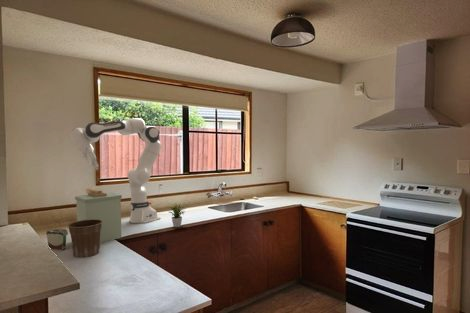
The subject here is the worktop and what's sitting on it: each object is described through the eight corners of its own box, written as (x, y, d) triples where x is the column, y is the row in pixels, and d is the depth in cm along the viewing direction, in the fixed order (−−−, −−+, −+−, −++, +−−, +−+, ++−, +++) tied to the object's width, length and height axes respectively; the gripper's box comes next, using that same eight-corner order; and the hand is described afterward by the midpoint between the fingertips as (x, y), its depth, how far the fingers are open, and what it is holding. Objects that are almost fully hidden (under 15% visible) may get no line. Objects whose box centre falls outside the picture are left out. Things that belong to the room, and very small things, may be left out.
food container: (73, 247, 171) (73, 229, 170) (64, 250, 165) (64, 232, 164) (55, 245, 174) (55, 227, 174) (46, 249, 168) (45, 230, 168)
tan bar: (91, 192, 198) (91, 188, 198) (102, 195, 185) (102, 190, 185) (85, 193, 196) (85, 188, 196) (96, 196, 183) (96, 191, 183)
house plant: (182, 229, 203) (182, 205, 203) (163, 229, 206) (162, 204, 205) (190, 224, 217) (189, 201, 217) (171, 223, 220) (171, 201, 219)
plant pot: (61, 258, 153) (60, 226, 152) (81, 248, 169) (80, 218, 168) (91, 260, 151) (90, 227, 150) (109, 249, 167) (108, 219, 166)
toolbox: (111, 232, 199) (110, 190, 198) (122, 237, 187) (121, 192, 186) (76, 239, 185) (75, 193, 184) (86, 245, 173) (84, 197, 172)
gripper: (91, 144, 198) (102, 162, 198) (91, 151, 216) (101, 168, 216) (81, 148, 195) (93, 167, 195) (82, 156, 213) (93, 173, 213)
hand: (97, 168), depth 206 cm, fingers open, 8 cm apart
